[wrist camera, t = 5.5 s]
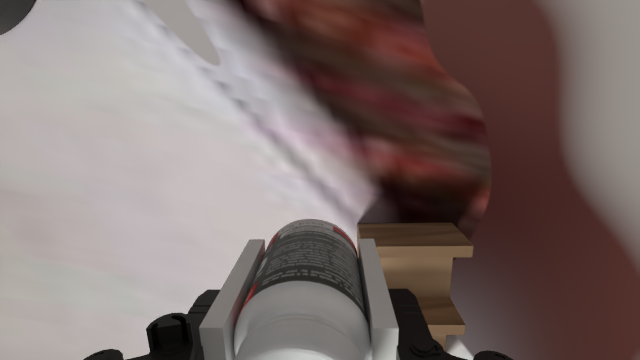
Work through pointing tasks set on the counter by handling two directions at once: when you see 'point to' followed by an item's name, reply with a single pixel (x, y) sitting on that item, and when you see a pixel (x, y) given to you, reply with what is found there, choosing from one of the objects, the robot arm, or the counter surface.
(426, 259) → the rack
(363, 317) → the pill bottle
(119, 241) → the counter surface
